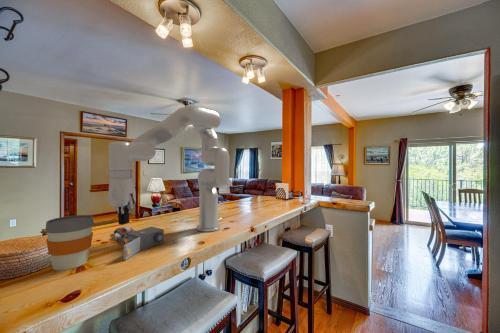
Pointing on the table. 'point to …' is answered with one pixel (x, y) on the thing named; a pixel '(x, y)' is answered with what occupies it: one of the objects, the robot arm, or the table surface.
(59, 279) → the table surface
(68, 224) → the reusable coffee cup
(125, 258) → the side door
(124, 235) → the walkie-talkie
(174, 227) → the table surface
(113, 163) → the robot arm
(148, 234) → the camera body
